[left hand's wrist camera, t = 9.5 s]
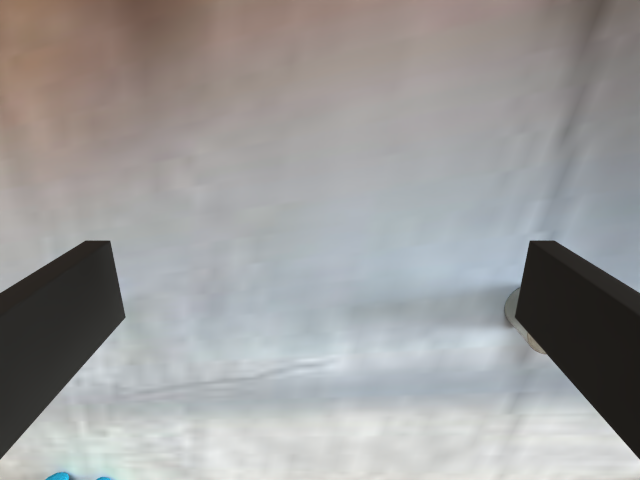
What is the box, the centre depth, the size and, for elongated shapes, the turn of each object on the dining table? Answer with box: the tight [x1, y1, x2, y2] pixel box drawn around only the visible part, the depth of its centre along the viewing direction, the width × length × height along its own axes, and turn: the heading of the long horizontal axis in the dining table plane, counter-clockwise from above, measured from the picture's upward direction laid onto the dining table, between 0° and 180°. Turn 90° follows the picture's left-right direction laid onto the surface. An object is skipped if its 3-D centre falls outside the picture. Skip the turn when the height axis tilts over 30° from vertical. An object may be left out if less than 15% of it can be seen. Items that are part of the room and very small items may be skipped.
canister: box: [505, 287, 546, 354], centre depth 36 cm, size 5×5×4 cm
